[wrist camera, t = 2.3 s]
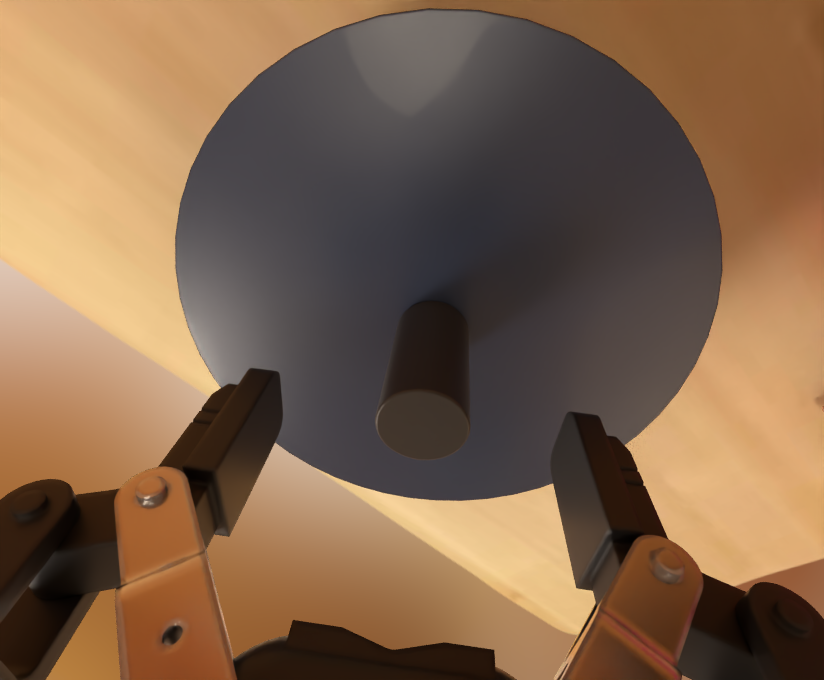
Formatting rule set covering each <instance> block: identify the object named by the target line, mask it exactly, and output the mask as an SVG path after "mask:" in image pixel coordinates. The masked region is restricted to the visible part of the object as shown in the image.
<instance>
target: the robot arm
mask: <svg viewBox="0 0 824 680" xmlns="http://www.w3.org/2000/svg"><path fill="white" fill-rule="evenodd" d="M282 421H283V405H282V393H281V381H280V374H279V372H278V371H272V370H265V369H257V368H250V369H249V370H248V371H247V372H246V374H245V375H244V376H243V378H242V379H241V381H240V382H239V384H238V385H237V384H230V383H228V384H227V385H225V386H224V387H222V388H221V389H219V390H218V391H216V392H215V393H213V394H212V395H211V396H210V398H209V399H208V401H207V402H206V403H205V404H204V406H203V407H202V410H201V411H199V413H198V414H197V415H196V417H195V418H194V420H193V423H190V425H189V426H188V427H187V429H186V430H185V431H184V433H183V434H182V435H181V437H180V438H179V440H178V441H177V442H176V444H175V445H174V446H173V448H172V449H171V450H170V452H169V453H168V454H167V456H166V457H165V458H164V460H163V461H162V463H161V464H160V465H159V466H158V467H156V468H152V469H148V470H145V471H143V472H141V473H139V474H136V475H135V476H133V477H132V478H130V479H129V480H128V481H127V482H125V483H124V484H123V486H122V487H121V488H120V489H116V490H109V491H101V492H94V493H86V494H78V495H75V494H74V492H73V490H72V488H71V486H70V485H69V484H68V483H66V482H64V481H61V480H56V479H47V480H40V481H35V482H32V483H29V484H26V485H24V486H21V487H19V488H18V489H16V490H14V491H12V492H10V493H9V494H7V495H6V496H5V497H4V498H2V499H1V500H0V680H46V678H47V677H48V675H49V673H50V672H51V670H52V668H53V667H54V665H55V664H56V662H57V660H58V659H59V657H60V656H61V654H62V652H63V651H64V649H65V647H66V646H67V644H68V642H69V641H70V639H71V637H72V636H73V634H74V633H75V631H76V629H77V628H78V626H79V625H80V623H81V621H82V620H83V618H84V616H85V615H86V613H87V612H88V610H89V608H90V607H91V605H92V603H93V602H94V600H95V598H96V597H97V595H98V594H99V592H100V591H104V590H109V589H114V588H116V590H115V610H116V623H117V635H118V650H119V664H120V677H121V680H517V679H515V678H514V677H512V676H510V675H509V674H508V673H506V672H505V671H503V670H501V669H499V668H497V667H495V655H494V650H491V649H485V648H478V647H471V646H464V645H458V644H451V643H438V644H432V645H424V646H418V647H411V648H405V649H398V650H391V649H387V648H385V647H383V646H381V645H379V644H376V643H374V642H372V641H370V640H368V639H366V638H364V637H361V636H359V635H357V634H355V633H353V632H351V631H349V630H346V629H344V628H342V627H336V626H330V625H322V624H315V623H309V622H303V621H295V620H293V621H292V625H291V628H290V632H289V635H288V636H283V637H278V638H275V639H271V640H268V641H265V642H263V643H261V644H258V645H256V646H254V647H252V648H250V649H249V650H247V651H245V652H243V653H242V654H240V655H239V656H237V657H236V658H233V653H232V649H231V645H230V641H229V638H228V634H227V630H226V626H225V622H224V619H223V614H222V611H221V607H220V602H219V599H218V594H217V590H216V586H215V582H214V578H213V574H212V571H211V567H210V563H209V559H208V555H207V551H206V549H207V547H208V545H209V543H210V541H211V539H212V537H213V535H214V534H215V535H222V536H228V537H229V536H230V534H231V532H232V530H233V528H234V526H235V524H236V522H237V520H238V517H239V516H240V514H241V511H242V509H243V507H244V505H245V503H246V501H247V499H248V497H249V495H250V493H251V491H252V489H253V487H254V485H255V483H256V480H257V478H258V476H259V474H260V472H261V470H262V468H263V466H264V464H265V462H266V460H267V457H268V456H269V453H270V451H271V449H272V447H273V445H274V443H275V441H276V439H277V437H278V435H279V433H280V430H281V426H282ZM550 468H551V475H552V480H553V484H554V489H555V493H556V498H557V502H558V507H559V512H560V516H561V521H562V525H563V530H564V534H565V539H566V543H567V548H568V552H569V557H570V561H571V566H572V570H573V575H574V580H575V584H576V588H578V589H585V590H592V591H593V593H594V597H595V601H596V604H595V605H594V607H593V608H592V610H591V612H590V614H589V616H588V618H587V619H586V621H585V623H584V625H583V627H582V629H581V630H580V632H579V634H578V636H577V638H576V640H575V641H574V643H573V645H572V647H571V649H570V651H569V652H568V654H567V656H566V658H565V660H564V661H563V663H562V665H561V667H560V669H559V671H558V672H557V674H556V676H555V678H554V680H681V679H682V675H684V676H686V677H688V678H690V679H692V680H824V619H823V618H822V616H821V615H820V614H819V613H818V612H817V611H816V610H815V609H814V608H813V607H812V606H811V605H810V604H809V603H808V602H807V601H806V600H804V599H803V598H802V597H800V596H799V595H797V594H796V593H794V592H792V591H791V590H789V589H787V588H785V587H783V586H780V585H777V584H774V583H768V582H760V583H757V584H755V585H753V586H752V587H751V588H750V589H749V591H747V592H745V591H742V590H740V589H738V588H736V587H733V586H731V585H729V584H726V583H724V582H721V581H719V580H717V579H714V578H712V577H710V576H708V575H706V574H704V573H702V572H701V571H700V569H699V567H698V565H697V564H696V562H695V561H694V560H693V558H692V557H691V556H690V555H689V554H688V553H687V552H686V551H685V550H684V549H683V548H681V547H680V546H679V545H677V544H676V543H674V542H672V541H670V540H669V539H668V538H667V535H666V533H665V531H664V528H663V526H662V524H661V522H660V519H659V517H658V515H657V512H656V510H655V508H654V505H653V503H652V501H651V499H650V496H649V494H648V492H647V489H646V487H645V486H643V483H644V482H643V480H642V478H641V476H640V473H639V472H637V466H636V464H635V462H634V459H633V457H632V455H631V453H630V451H629V450H628V449H627V448H626V447H625V446H624V445H623V444H622V442H621V441H620V440H619V439H618V438H617V437H615V436H607V434H606V432H605V429H604V427H603V424H602V422H601V419H600V417H599V416H598V415H593V414H586V413H578V412H571V411H570V412H568V413H567V414H566V416H565V418H564V421H563V424H562V426H561V429H560V431H559V434H558V437H557V439H556V442H555V445H554V447H553V450H552V454H551V462H550Z"/></svg>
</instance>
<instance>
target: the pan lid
mask: <svg viewBox="0 0 824 680" xmlns="http://www.w3.org/2000/svg"><path fill="white" fill-rule="evenodd" d="M175 249H176V274H177V281H178V288H179V295H180V300H181V304H182V307H183V311H184V314H185V318H186V321H187V325H188V328H189V330H190V332H191V335H192V337H193V339H194V342H195V344H196V346H197V349H198V351H199V353H200V355H201V357H202V359H203V360H204V362H205V364H206V366H207V367H208V369H209V371H210V372H211V374H212V376H213V378H214V379H215V380H216V382H217V383H218V384H219V386H220V387H221V388H222V387H224V386H225V385H227V384H228V383H230V384H237V385H238V384H239V382H240V381H241V379H242V378H243V376H244V375H245V374H246V372H247V371H248V370H249V369H250V368H257V369H265V370H272V371H278V372H279V374H280V381H281V393H282V405H283V421H282V426H281V430H280V433H279V435H278V437H277V439H276V441H275V443H277V444H278V445H279V446H281V447H282V448H284V449H285V450H286V451H288V452H289V453H291V454H292V455H294V456H296V457H297V458H299V459H301V460H302V461H304V462H306V463H308V464H309V465H311V466H313V467H315V468H317V469H319V470H321V471H323V472H325V473H328V474H330V475H332V476H334V477H336V478H339V479H342V480H344V481H347V482H350V483H352V484H355V485H358V486H361V487H364V488H368V489H372V490H375V491H379V492H382V493H387V494H392V495H398V496H403V497H408V498H418V499H428V500H452V501H463V500H477V499H489V498H495V497H501V496H508V495H514V494H518V493H522V492H526V491H530V490H533V489H537V488H541V487H544V486H546V485H549V484H552V483H553V480H552V475H551V468H550V462H551V454H552V450H553V447H554V445H555V442H556V439H557V437H558V434H559V431H560V429H561V426H562V424H563V421H564V418H565V416H566V414H567V413H568V412H570V411H571V412H578V413H586V414H593V415H598V416H599V417H600V419H601V422H602V424H603V427H604V429H605V432H606V434H607V436H615V437H617V438H618V439H619V440H620V441H621V442H622V444H623V445H625V444H627V443H628V442H629V441H631V440H632V439H633V438H635V437H636V436H637V435H638V434H639V433H640V432H642V431H643V430H644V429H645V428H646V427H647V426H648V425H649V424H650V423H651V422H652V421H653V420H654V419H655V418H656V417H657V416H658V415H659V414H660V413H661V412H662V411H663V410H664V408H665V407H666V406H667V405H668V404H669V402H670V401H671V400H672V399H673V398H674V396H675V395H676V394H677V393H678V391H679V390H680V388H681V387H682V385H683V384H684V382H685V380H686V379H687V377H688V376H689V374H690V373H691V371H692V369H693V368H694V366H695V364H696V362H697V360H698V358H699V356H700V353H701V351H702V349H703V347H704V345H705V343H706V340H707V338H708V336H709V332H710V329H711V326H712V322H713V319H714V315H715V312H716V309H717V305H718V298H719V291H720V284H721V276H722V240H721V230H720V224H719V219H718V214H717V209H716V204H715V199H714V195H713V192H712V190H711V187H710V184H709V182H708V179H707V177H706V174H705V171H704V169H703V166H702V163H701V161H700V158H699V157H698V155H697V153H696V152H695V150H694V148H693V147H692V145H691V143H690V142H689V140H688V138H687V137H686V135H685V133H684V131H683V130H682V128H681V126H680V125H679V123H678V122H677V121H676V120H675V118H674V117H673V116H672V115H671V114H670V112H669V111H668V110H667V109H666V108H665V107H664V105H663V104H662V103H661V102H660V101H659V100H658V98H657V97H656V96H655V95H654V94H653V93H652V91H651V90H650V89H649V88H647V87H646V86H645V85H644V84H643V83H641V82H640V81H639V80H638V79H637V78H635V77H634V76H633V75H632V74H630V73H629V72H628V71H627V70H626V69H624V68H623V67H622V66H621V65H620V64H618V63H617V62H616V61H615V60H613V59H612V58H610V57H608V56H606V55H605V54H603V53H601V52H599V51H598V50H596V49H594V48H592V47H591V46H589V45H587V44H585V43H584V42H582V41H580V40H579V39H577V38H575V37H573V36H571V35H568V34H566V33H563V32H560V31H557V30H555V29H552V28H549V27H547V26H544V25H541V24H539V23H536V22H533V21H530V20H528V19H523V18H518V17H513V16H508V15H503V14H497V13H492V12H487V11H482V10H469V9H430V8H428V9H421V10H413V11H406V12H399V13H391V14H384V15H379V16H375V17H372V18H369V19H366V20H362V21H359V22H356V23H353V24H349V25H346V26H343V27H340V28H336V29H334V30H332V31H330V32H328V33H326V34H324V35H322V36H320V37H318V38H316V39H314V40H312V41H310V42H308V43H306V44H304V45H302V46H300V47H298V48H296V49H294V50H292V51H291V52H289V53H288V54H287V55H285V56H284V57H283V58H281V59H280V60H278V61H277V62H276V63H274V64H273V65H271V66H270V67H269V68H267V69H266V70H265V71H263V72H262V73H260V74H259V75H258V76H257V77H256V78H255V79H254V80H253V81H252V82H251V83H250V84H249V85H248V86H247V87H246V88H245V89H244V90H243V91H242V92H241V93H240V94H239V95H238V96H237V97H236V98H235V99H234V100H233V101H232V102H231V103H230V104H229V106H228V107H227V108H226V110H225V111H224V113H223V114H222V115H221V117H220V118H219V120H218V121H217V122H216V124H215V125H214V127H213V128H212V129H211V131H210V132H209V134H208V135H207V137H206V139H205V141H204V143H203V145H202V147H201V149H200V151H199V153H198V155H197V157H196V159H195V161H194V163H193V165H192V167H191V170H190V173H189V176H188V179H187V183H186V186H185V189H184V192H183V196H182V199H181V202H180V208H179V215H178V222H177V229H176V236H175Z"/></svg>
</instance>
